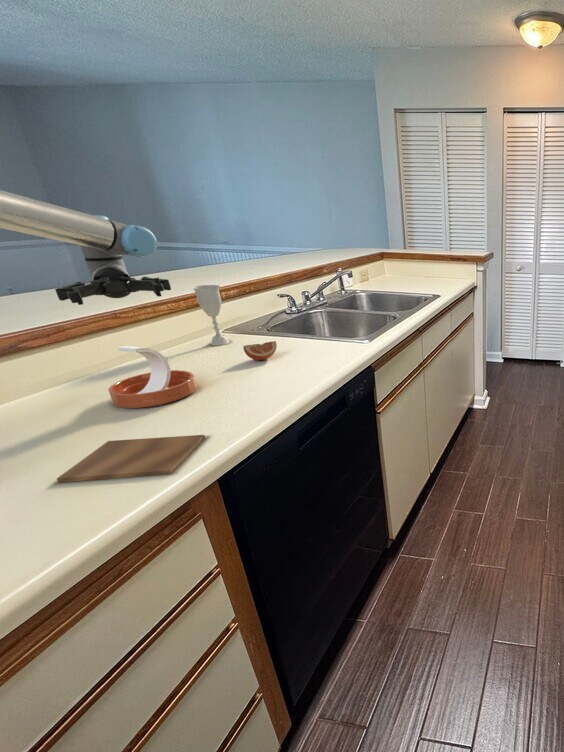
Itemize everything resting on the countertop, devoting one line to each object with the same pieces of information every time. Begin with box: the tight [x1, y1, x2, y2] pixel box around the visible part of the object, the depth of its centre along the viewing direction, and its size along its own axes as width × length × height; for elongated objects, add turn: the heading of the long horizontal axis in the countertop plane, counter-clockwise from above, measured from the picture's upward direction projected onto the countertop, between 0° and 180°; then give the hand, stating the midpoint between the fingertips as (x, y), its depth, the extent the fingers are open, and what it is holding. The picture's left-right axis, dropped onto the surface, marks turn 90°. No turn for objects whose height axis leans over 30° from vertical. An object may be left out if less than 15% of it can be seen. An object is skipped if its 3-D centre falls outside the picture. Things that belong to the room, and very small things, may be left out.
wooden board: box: [56, 434, 206, 484], centre depth 74 cm, size 16×12×1 cm
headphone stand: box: [117, 345, 171, 394], centre depth 95 cm, size 5×6×12 cm
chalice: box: [192, 284, 230, 346], centre depth 133 cm, size 7×7×18 cm
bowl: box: [107, 369, 198, 409], centre depth 97 cm, size 15×15×4 cm
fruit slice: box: [243, 340, 278, 361], centre depth 121 cm, size 8×7×5 cm
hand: (120, 294), depth 95 cm, fingers open, 13 cm apart
